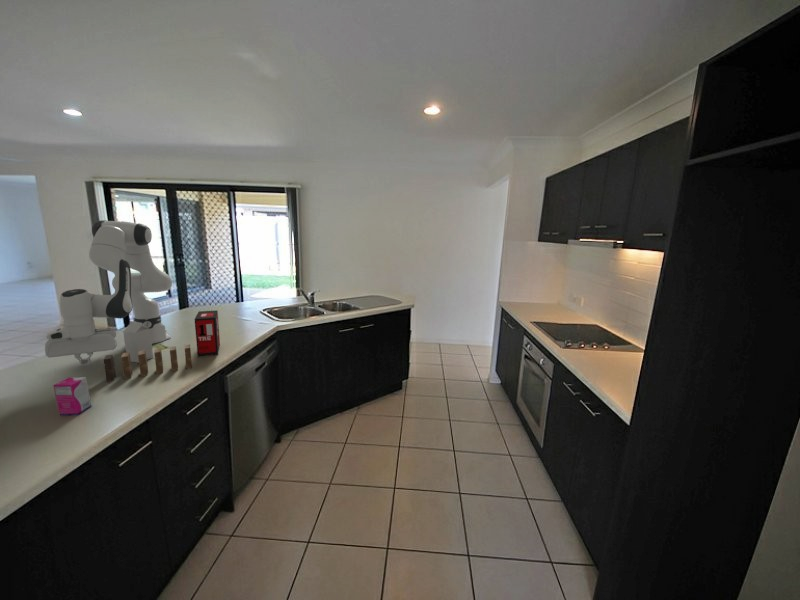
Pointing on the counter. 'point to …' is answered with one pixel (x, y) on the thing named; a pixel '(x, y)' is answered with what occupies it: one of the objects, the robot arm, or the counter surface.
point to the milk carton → (137, 340)
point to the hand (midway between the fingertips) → (85, 363)
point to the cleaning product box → (207, 333)
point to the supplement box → (72, 396)
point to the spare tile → (109, 368)
